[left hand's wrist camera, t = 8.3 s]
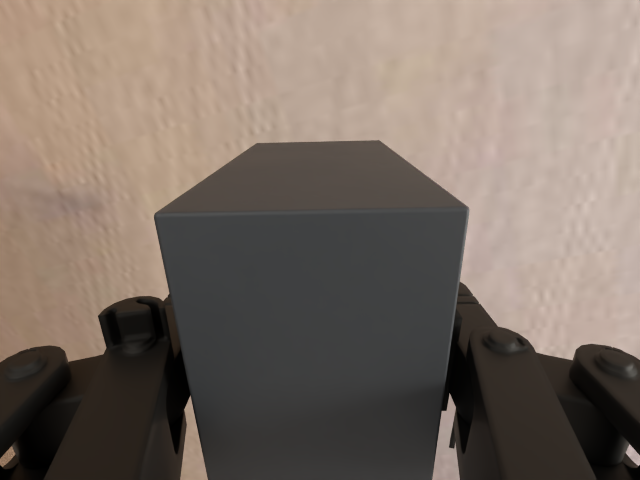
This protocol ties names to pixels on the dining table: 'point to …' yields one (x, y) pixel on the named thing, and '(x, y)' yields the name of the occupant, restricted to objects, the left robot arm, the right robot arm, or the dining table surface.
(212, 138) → the dining table surface
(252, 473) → the post
